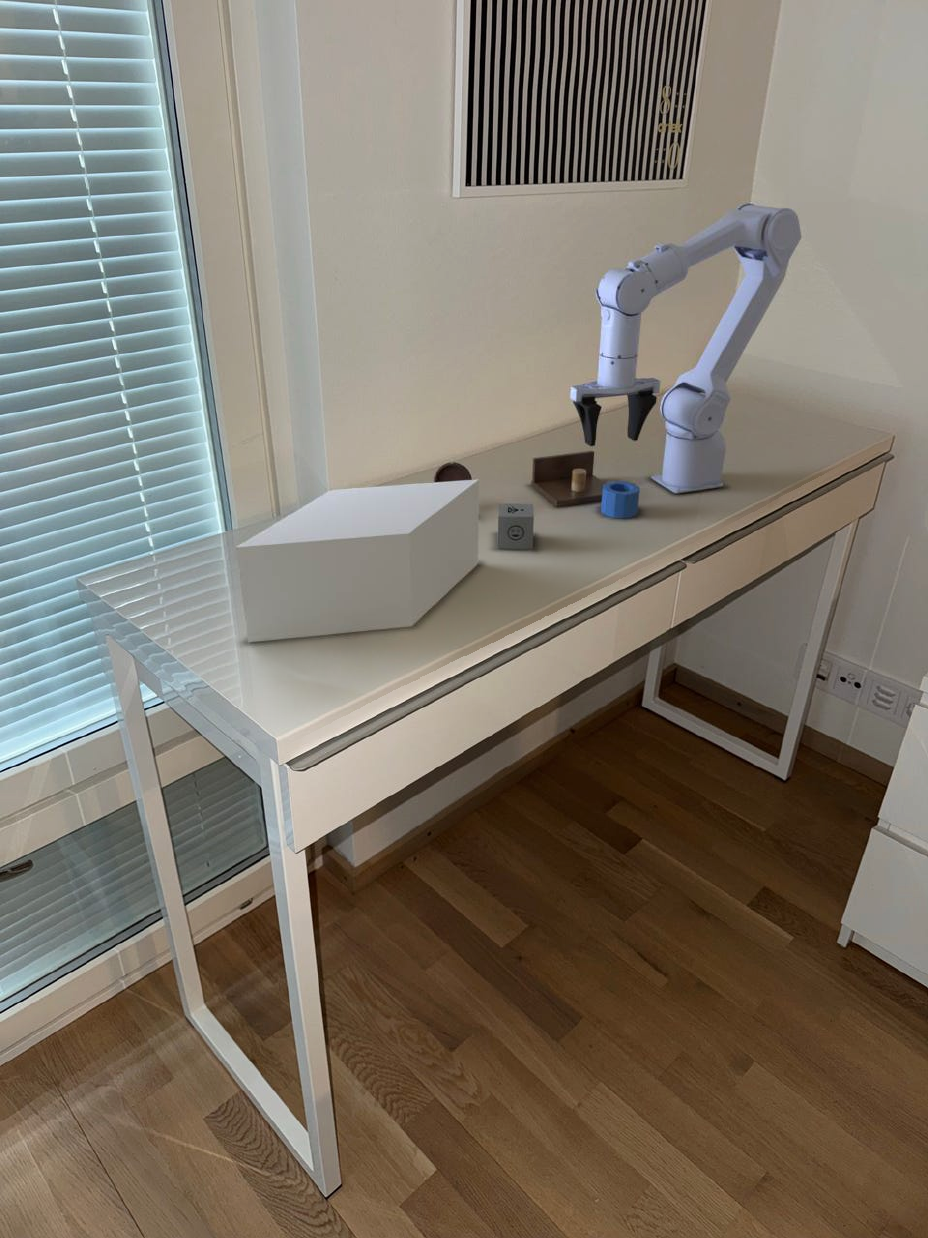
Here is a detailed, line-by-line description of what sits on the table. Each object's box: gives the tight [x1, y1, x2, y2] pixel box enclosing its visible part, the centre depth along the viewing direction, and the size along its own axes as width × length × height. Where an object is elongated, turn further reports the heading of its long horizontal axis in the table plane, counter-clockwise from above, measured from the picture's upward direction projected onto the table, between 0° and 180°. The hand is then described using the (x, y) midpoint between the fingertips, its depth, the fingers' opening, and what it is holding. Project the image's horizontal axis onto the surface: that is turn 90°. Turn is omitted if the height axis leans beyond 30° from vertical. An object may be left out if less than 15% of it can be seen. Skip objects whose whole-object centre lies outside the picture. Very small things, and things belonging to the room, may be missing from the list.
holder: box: [530, 450, 606, 508], centre depth 149 cm, size 11×10×5 cm
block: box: [235, 479, 480, 643], centre depth 114 cm, size 18×35×12 cm, turn 128°
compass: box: [433, 461, 473, 483], centre depth 140 cm, size 8×8×7 cm
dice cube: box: [497, 502, 535, 550], centre depth 132 cm, size 5×5×5 cm
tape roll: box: [600, 480, 640, 519], centre depth 142 cm, size 6×6×4 cm
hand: (611, 441), depth 144 cm, fingers open, 7 cm apart
